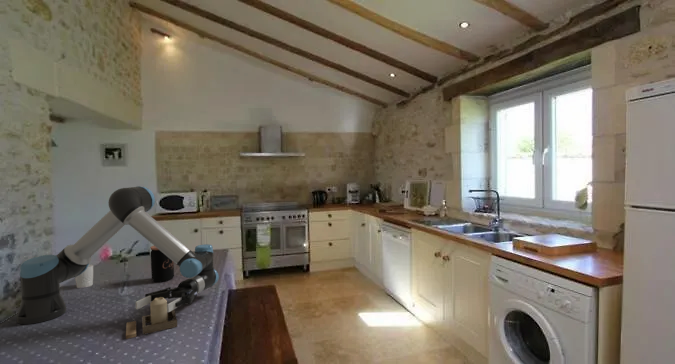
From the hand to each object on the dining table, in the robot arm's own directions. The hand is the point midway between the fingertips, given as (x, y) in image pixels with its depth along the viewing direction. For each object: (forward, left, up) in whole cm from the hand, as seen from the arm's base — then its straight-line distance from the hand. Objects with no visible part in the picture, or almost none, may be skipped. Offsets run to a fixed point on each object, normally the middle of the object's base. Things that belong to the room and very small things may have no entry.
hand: (151, 307), depth 124 cm
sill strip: (-7, +2, -8) cm, 11 cm away
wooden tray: (+2, +2, -8) cm, 9 cm away
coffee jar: (+7, +63, -8) cm, 64 cm away
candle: (+2, +2, -8) cm, 9 cm away
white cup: (-28, +75, -8) cm, 81 cm away
